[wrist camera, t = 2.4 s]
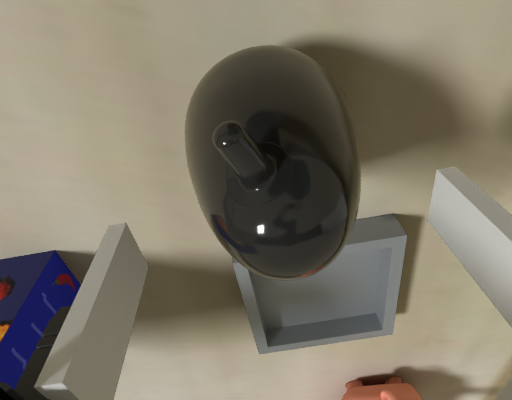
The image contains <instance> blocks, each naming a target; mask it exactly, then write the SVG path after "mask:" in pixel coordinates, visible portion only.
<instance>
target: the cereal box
mask: <svg viewBox="0 0 512 400" xmlns="http://www.w3.org/2000/svg"><path fill="white" fill-rule="evenodd" d="M80 287H81V285H80V283H79V282H78V281H77V279H76V278H75V277H74V275H73V274H72V273H71V271H70V270H69V269H68V267H67V266H66V265H65V263H64V262H63V260H62V259H61V258H60V256H59V255H58V254H57V252H56V251H55V250H53V251H48V252H42V253H36V254H30V255H24V256H19V257H13V258H7V259H1V260H0V382H2V383H7V384H8V385H9V386H10V387H12V388H13V389H15V387H16V385H17V383H18V381H19V379H20V377H21V375H22V373H23V371H24V369H25V367H26V366H27V364H28V362H29V360H30V358H31V356H32V354H33V352H34V350H36V346H37V344H38V342H39V340H40V338H42V334H43V332H44V330H45V328H46V326H47V324H48V322H49V320H50V319H51V318H52V317H53V316H54V315H55V314H56V313H57V311H58V310H59V309H60V308H61V307H65V306H71V305H72V304H73V302H74V300H75V298H76V295H77V293H78V291H79V289H80Z"/></svg>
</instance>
